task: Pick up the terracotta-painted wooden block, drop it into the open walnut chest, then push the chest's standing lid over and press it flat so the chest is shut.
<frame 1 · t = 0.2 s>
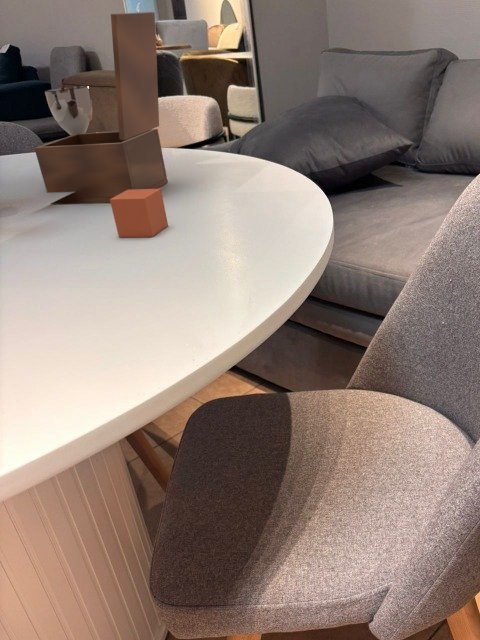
lid: (137, 75, 97), point 17 cm above the table, hinge at 100.0°
chest: (110, 193, 108), on the table
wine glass: (87, 172, 127), on the table
block: (143, 231, 86), on the table
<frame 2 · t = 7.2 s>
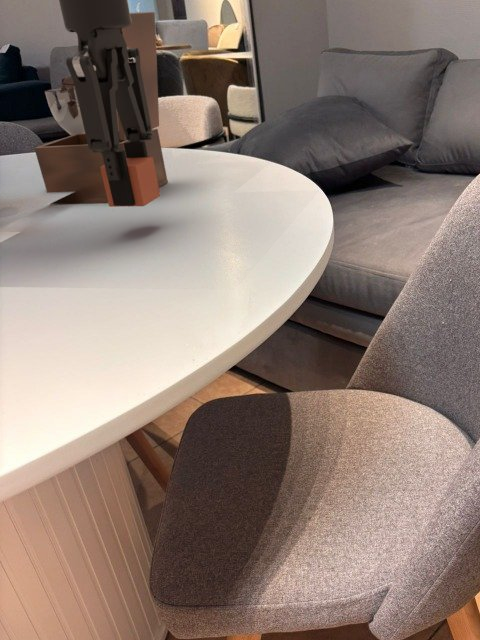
hand: (134, 198, 84), 4 cm above the table, tool pointing down, fingers closed on block, 5 cm apart
block: (135, 201, 84), point 4 cm above the table, touching gripper
everything else where it was.
when the fingers open (9 cm above the table, at t = 16.6 s): block stays where it is, resting on chest.
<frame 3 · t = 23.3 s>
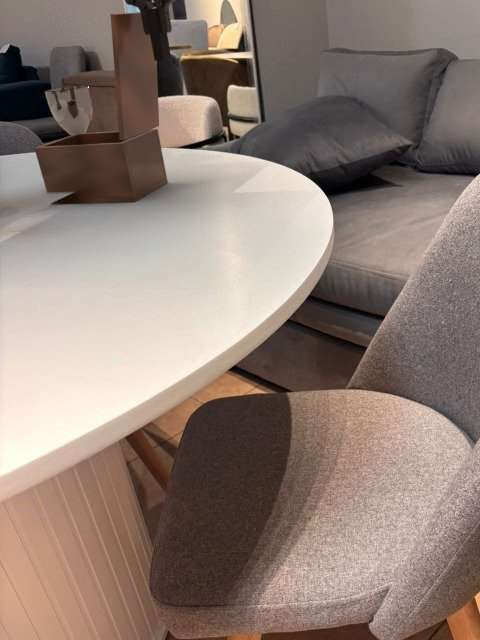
hand: (163, 59, 95), 19 cm above the table, tool pointing down, fingers closed
lid: (137, 75, 97), point 17 cm above the table, hinge at 99.8°, touching gripper
block: (109, 188, 108), point 1 cm above the table, touching chest
everything else where it was.
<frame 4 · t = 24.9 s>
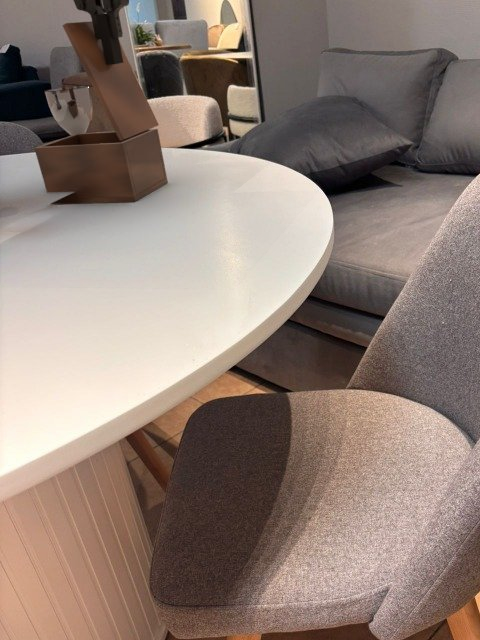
hand: (115, 63, 97), 19 cm above the table, tool pointing down, fingers closed
lid: (114, 79, 98), point 17 cm above the table, hinge at 72.1°, touching gripper
everything else where it was.
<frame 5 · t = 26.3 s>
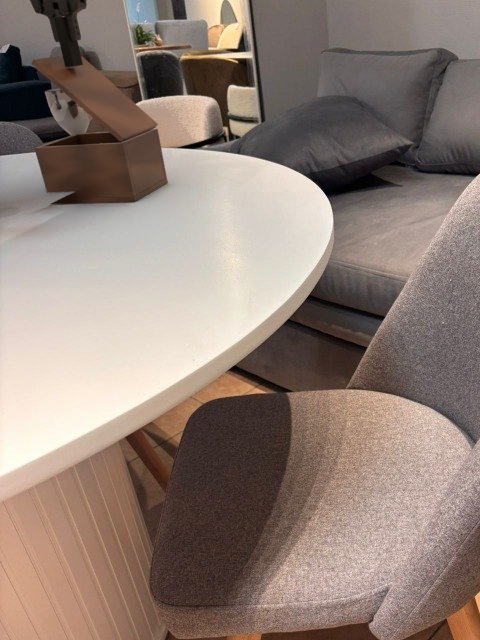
hand: (74, 65, 99), 19 cm above the table, tool pointing down, fingers closed
lid: (98, 95, 100), point 15 cm above the table, hinge at 44.0°, touching gripper
everything else where it was.
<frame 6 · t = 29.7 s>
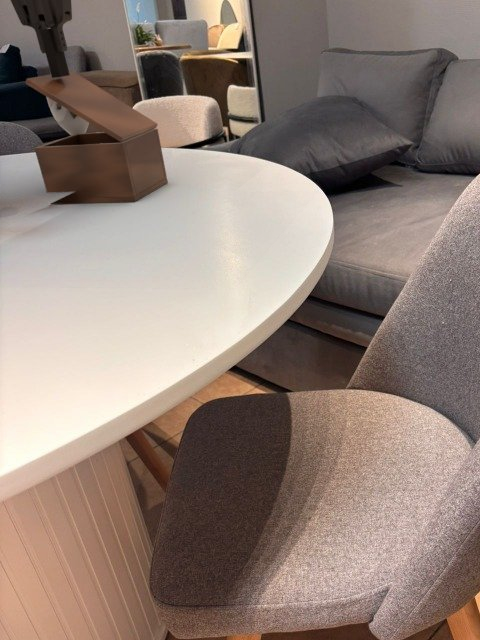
hand: (60, 76, 100), 18 cm above the table, tool pointing down, fingers closed
lid: (95, 104, 101), point 14 cm above the table, hinge at 33.0°
everything else where it was.
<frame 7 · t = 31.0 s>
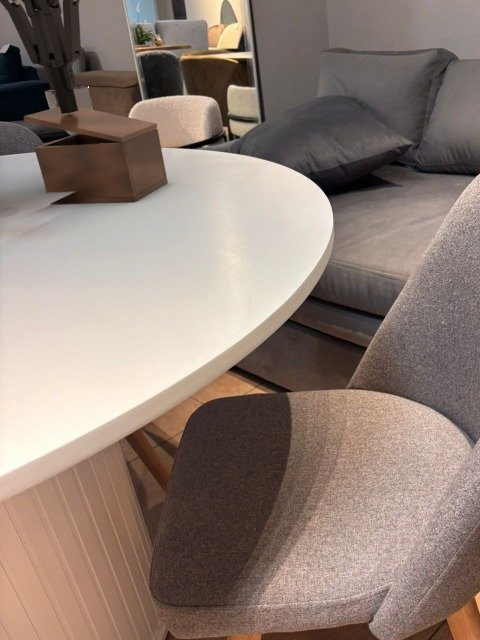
hand: (70, 112, 103), 13 cm above the table, tool pointing down, fingers closed
lid: (93, 122, 103), point 11 cm above the table, hinge at 13.5°
everything else where it was.
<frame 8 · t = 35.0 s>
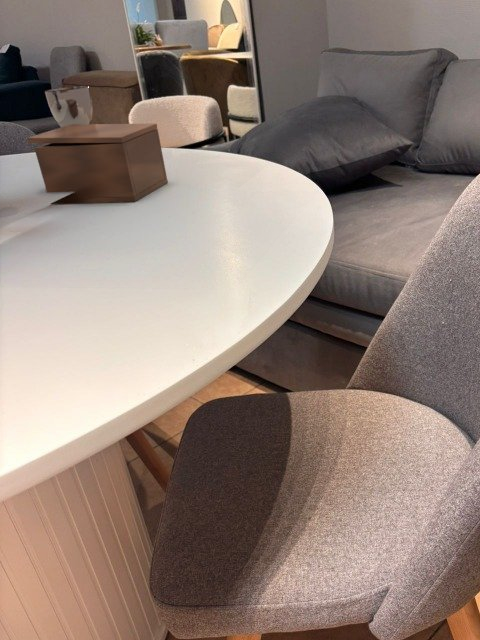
lid: (94, 133, 104), point 10 cm above the table, hinge at 2.4°
everything else where it was.
at the end: lid at +2° (first picture: +100°); block inside the target area in the chest (0.0 cm from its centre), point 0.8 cm above the chest's base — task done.
